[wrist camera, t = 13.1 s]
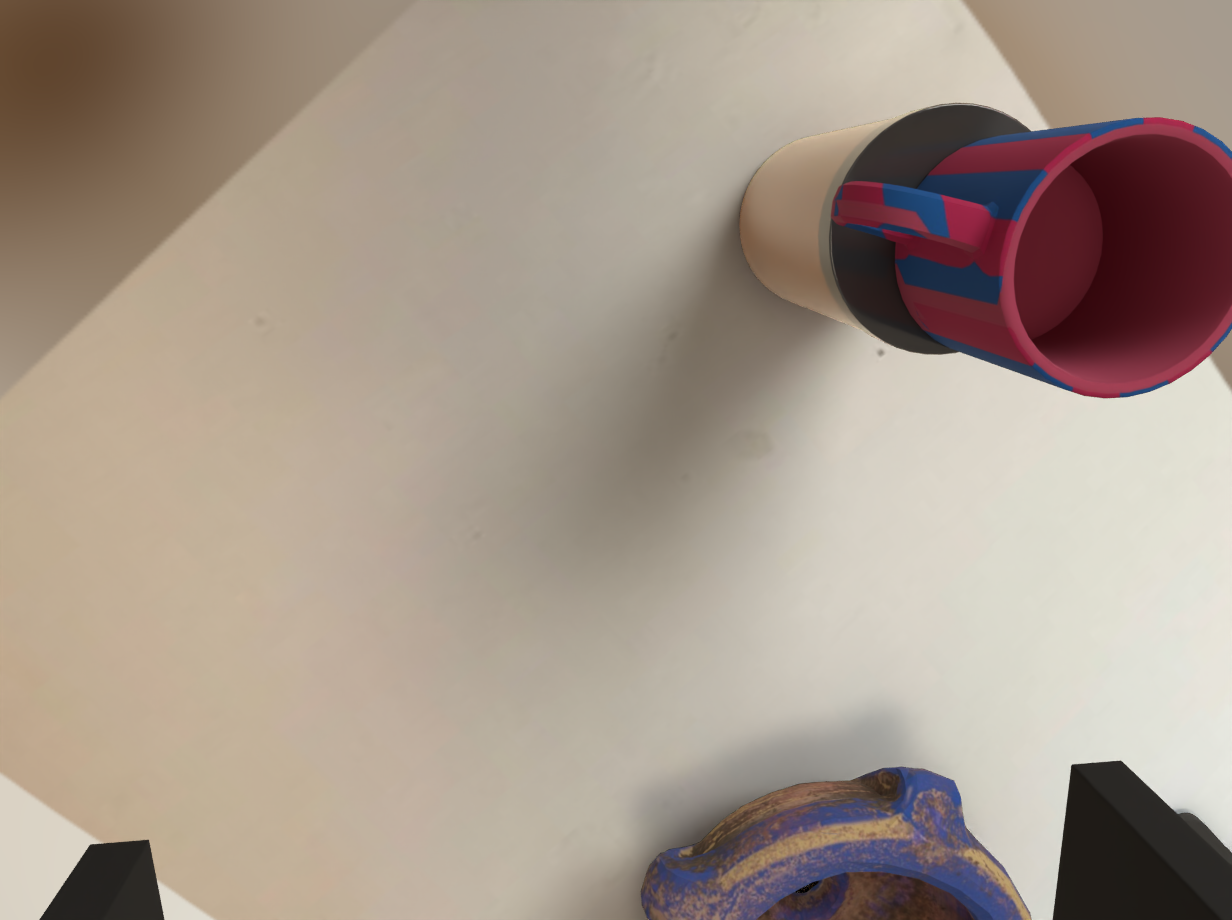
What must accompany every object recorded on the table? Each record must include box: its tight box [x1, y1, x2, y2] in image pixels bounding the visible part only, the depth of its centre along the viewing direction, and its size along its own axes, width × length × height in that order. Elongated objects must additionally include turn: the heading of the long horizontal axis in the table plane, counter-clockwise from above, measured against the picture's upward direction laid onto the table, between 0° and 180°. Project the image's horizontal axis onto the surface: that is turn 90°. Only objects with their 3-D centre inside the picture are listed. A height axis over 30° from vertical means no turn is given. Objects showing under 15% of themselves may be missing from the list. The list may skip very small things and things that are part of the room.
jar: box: [739, 103, 1031, 355], centre depth 35 cm, size 8×8×13 cm
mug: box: [831, 117, 1232, 398], centre depth 26 cm, size 7×10×7 cm
